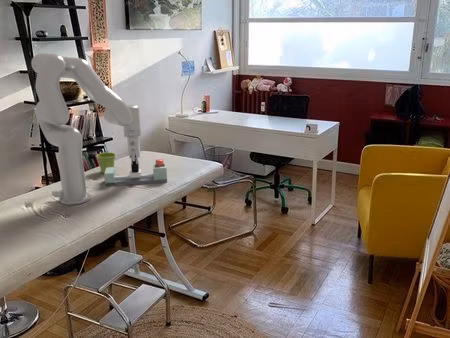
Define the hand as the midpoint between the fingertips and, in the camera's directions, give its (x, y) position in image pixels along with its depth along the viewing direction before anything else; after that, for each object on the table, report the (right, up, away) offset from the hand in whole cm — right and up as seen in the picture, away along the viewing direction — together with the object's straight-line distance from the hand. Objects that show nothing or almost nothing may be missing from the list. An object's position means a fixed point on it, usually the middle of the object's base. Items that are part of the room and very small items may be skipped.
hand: (135, 170), depth 208 cm
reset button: (+11, +2, +1) cm, 11 cm away
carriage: (0, -2, +1) cm, 2 cm away
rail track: (0, -5, +2) cm, 5 cm away
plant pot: (-17, -1, +16) cm, 23 cm away
